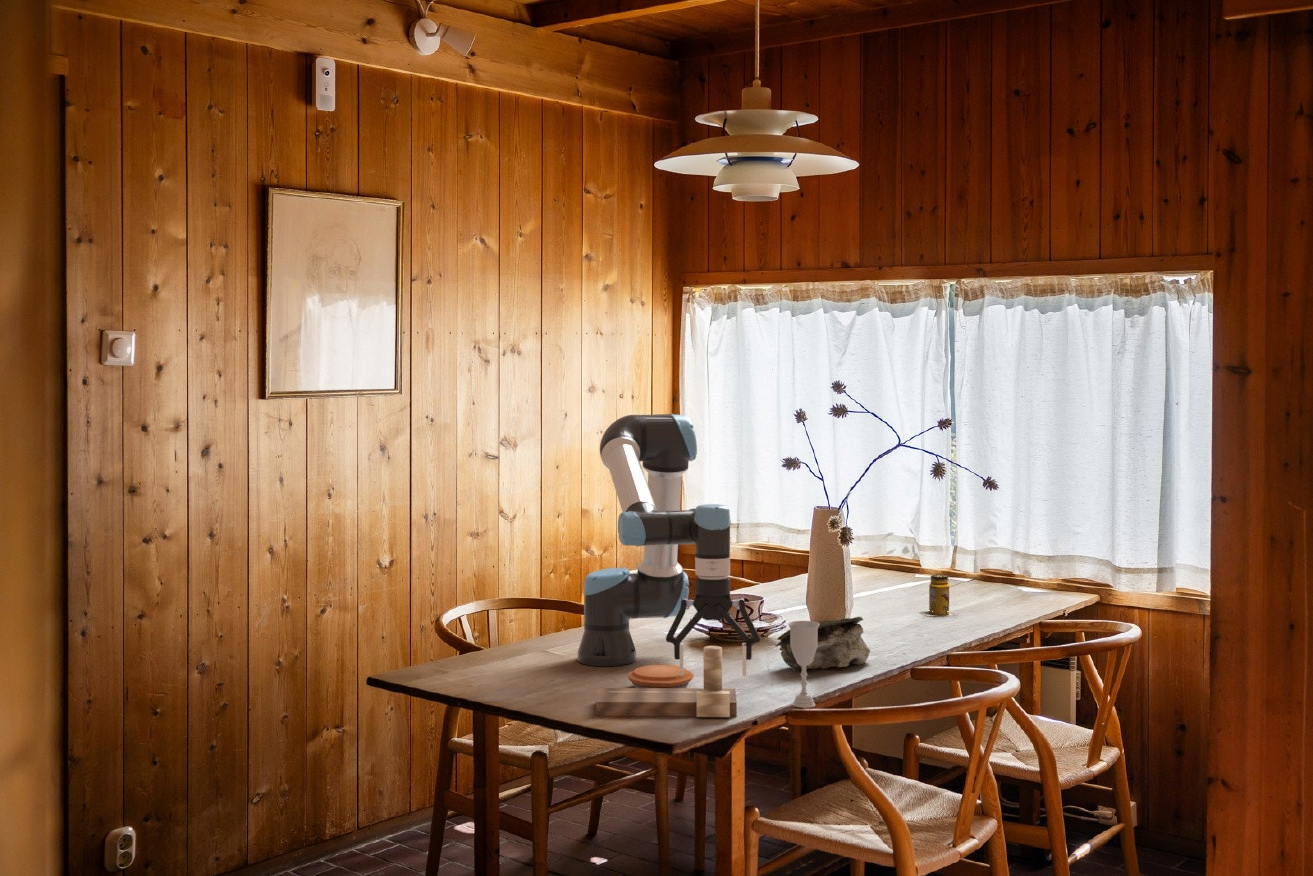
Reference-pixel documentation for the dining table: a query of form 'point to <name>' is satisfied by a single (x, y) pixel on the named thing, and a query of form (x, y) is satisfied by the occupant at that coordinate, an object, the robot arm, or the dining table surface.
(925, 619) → the dining table surface
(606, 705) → the board
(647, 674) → the pie
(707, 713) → the wooden handled tool
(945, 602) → the condiment
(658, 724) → the dining table surface
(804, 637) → the chalice
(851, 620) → the hollow geode rock
